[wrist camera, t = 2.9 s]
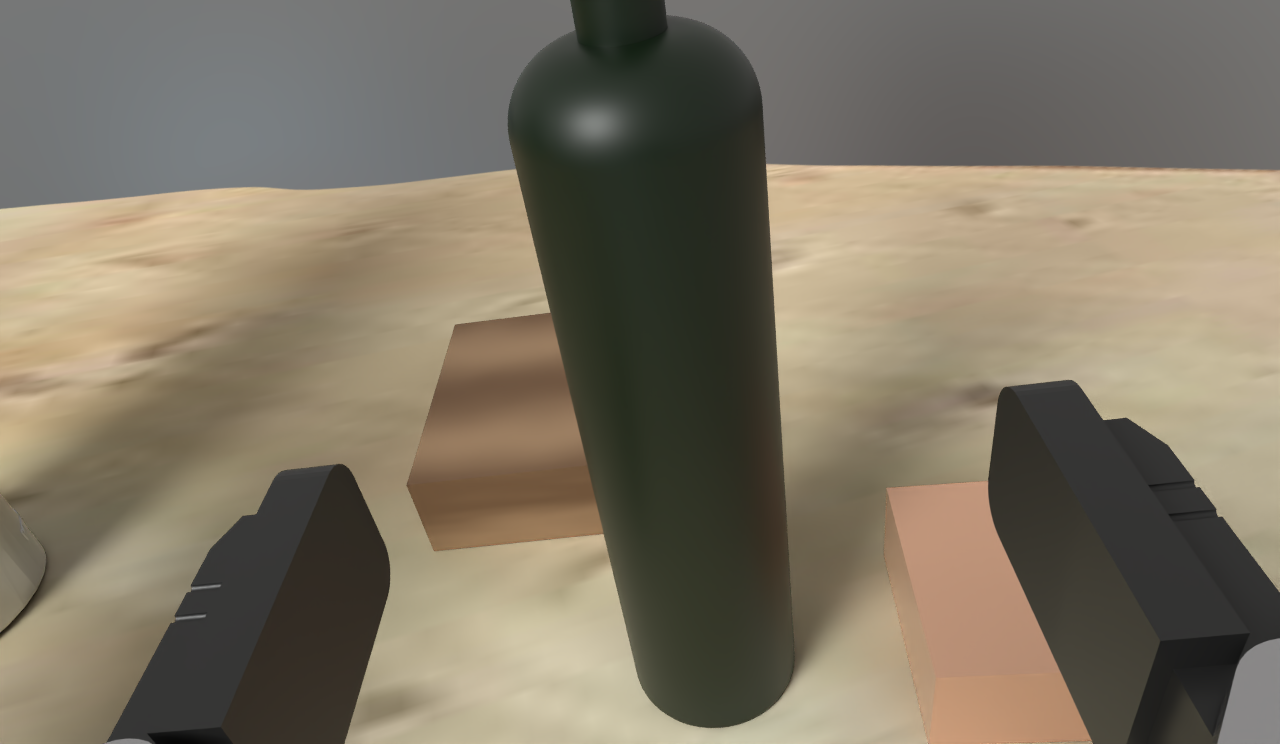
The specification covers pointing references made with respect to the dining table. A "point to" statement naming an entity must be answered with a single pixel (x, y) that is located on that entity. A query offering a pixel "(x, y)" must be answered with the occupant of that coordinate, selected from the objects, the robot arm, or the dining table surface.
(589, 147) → the wine bottle
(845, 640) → the dining table surface
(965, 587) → the terracotta block
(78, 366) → the dining table surface
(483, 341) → the walnut block
